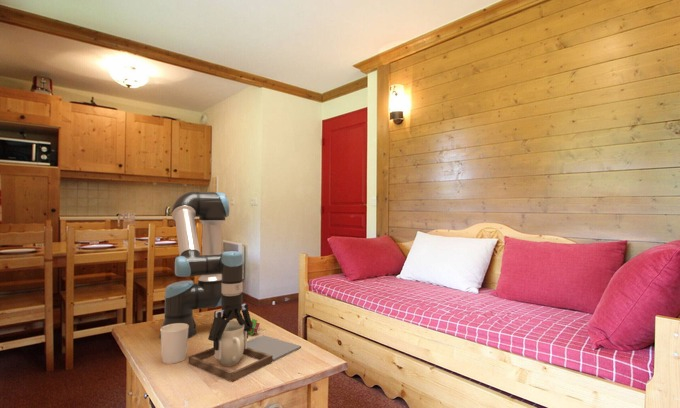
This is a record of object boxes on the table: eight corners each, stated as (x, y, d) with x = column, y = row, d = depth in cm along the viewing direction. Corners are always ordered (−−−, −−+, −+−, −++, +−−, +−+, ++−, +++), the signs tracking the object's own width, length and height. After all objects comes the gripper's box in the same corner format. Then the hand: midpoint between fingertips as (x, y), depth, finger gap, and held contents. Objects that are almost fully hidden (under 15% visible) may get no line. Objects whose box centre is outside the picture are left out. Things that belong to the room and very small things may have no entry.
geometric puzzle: (258, 324, 169) (249, 313, 166) (266, 328, 164) (257, 316, 161) (247, 336, 165) (238, 325, 162) (255, 340, 160) (246, 329, 157)
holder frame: (188, 363, 131) (188, 356, 131) (229, 347, 146) (229, 341, 146) (232, 381, 117) (232, 374, 118) (272, 362, 133) (272, 355, 133)
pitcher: (223, 376, 121) (223, 335, 121) (208, 358, 136) (208, 321, 136) (253, 368, 128) (254, 329, 128) (236, 351, 142) (237, 317, 143)
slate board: (234, 348, 146) (234, 346, 146) (263, 336, 159) (263, 335, 159) (273, 361, 134) (273, 359, 134) (301, 348, 147) (301, 346, 147)
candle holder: (159, 366, 128) (160, 333, 128) (159, 356, 137) (160, 325, 137) (189, 361, 133) (190, 329, 133) (187, 352, 141) (187, 321, 142)
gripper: (211, 301, 121) (210, 367, 120) (262, 289, 140) (261, 345, 140) (197, 298, 125) (197, 361, 124) (249, 286, 144) (248, 341, 144)
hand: (231, 353), depth 132 cm, fingers closed on pitcher, 11 cm apart
